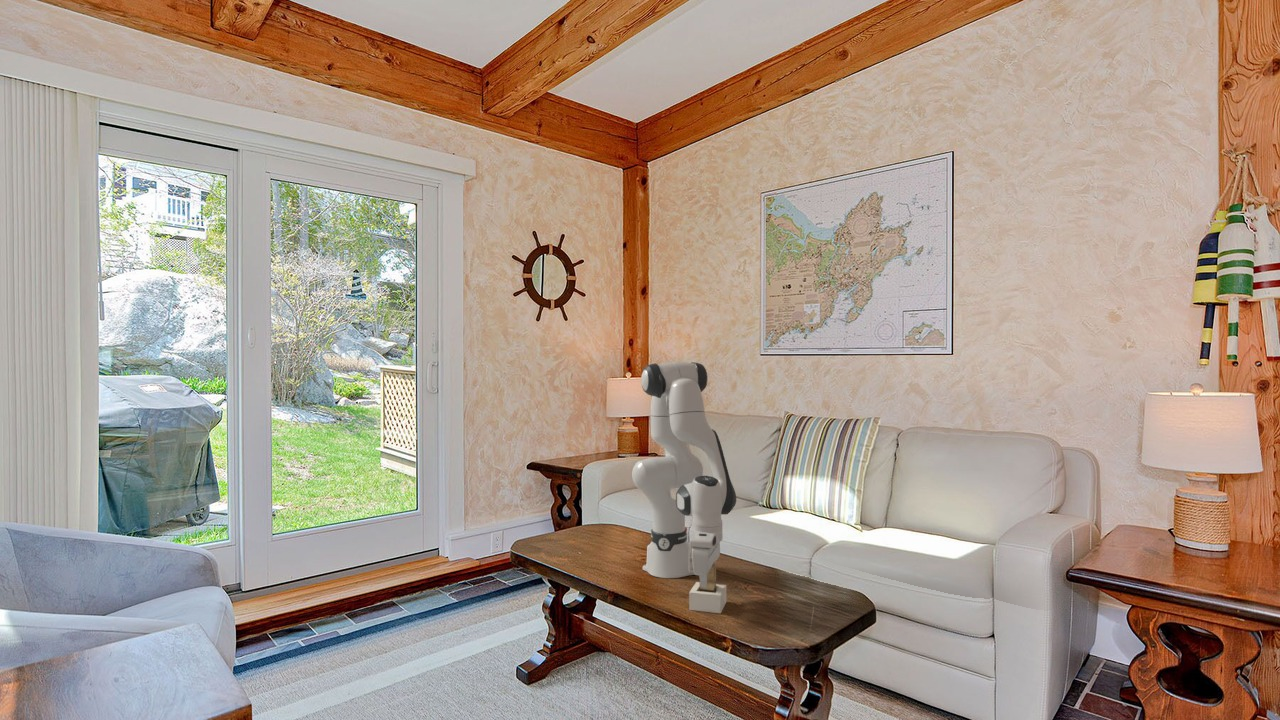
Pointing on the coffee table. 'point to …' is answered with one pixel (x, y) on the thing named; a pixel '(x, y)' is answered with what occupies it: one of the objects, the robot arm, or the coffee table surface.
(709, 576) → the oak peg
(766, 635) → the coffee table surface
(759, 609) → the coffee table surface
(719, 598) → the socket board
